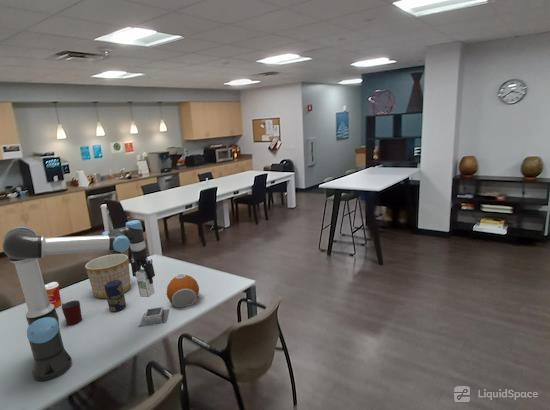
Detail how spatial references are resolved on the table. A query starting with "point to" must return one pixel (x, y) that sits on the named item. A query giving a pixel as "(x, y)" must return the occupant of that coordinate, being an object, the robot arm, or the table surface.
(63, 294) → the table surface
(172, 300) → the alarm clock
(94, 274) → the planter
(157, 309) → the collar
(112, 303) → the canister
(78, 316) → the mug
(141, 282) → the syrup box
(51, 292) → the coffee cup
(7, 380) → the table surface
